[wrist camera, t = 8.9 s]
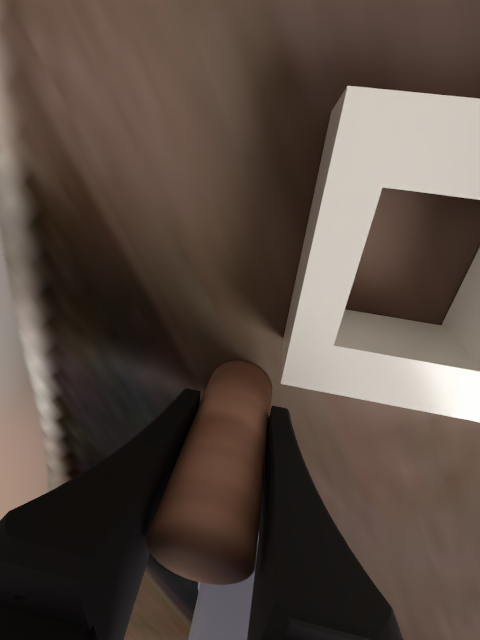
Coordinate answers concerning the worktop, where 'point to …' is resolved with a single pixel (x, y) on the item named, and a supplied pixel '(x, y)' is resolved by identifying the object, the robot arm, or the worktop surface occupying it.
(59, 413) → the worktop surface
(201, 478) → the pin
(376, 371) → the slot block
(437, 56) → the worktop surface
